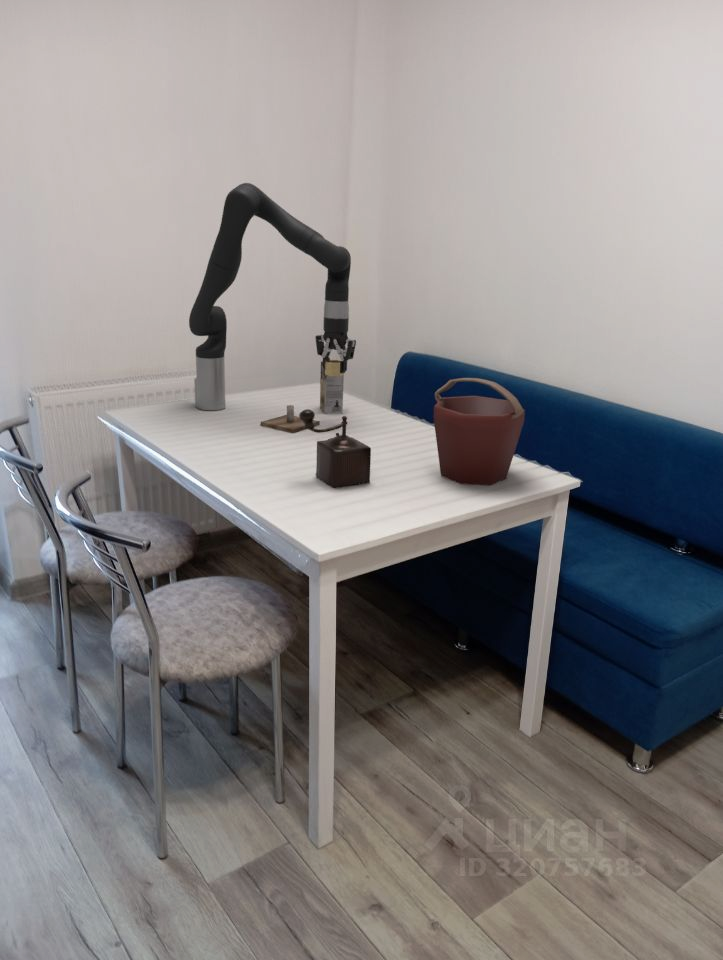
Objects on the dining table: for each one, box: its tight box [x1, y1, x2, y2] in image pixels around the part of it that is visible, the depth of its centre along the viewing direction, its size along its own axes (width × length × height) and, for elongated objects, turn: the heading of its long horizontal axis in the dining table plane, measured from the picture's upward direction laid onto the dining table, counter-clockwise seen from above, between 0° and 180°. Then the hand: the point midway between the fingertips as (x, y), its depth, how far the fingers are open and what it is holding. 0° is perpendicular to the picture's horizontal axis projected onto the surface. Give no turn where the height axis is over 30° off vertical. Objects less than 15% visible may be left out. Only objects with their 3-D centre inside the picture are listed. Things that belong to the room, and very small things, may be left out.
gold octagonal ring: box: [325, 359, 345, 376], centre depth 246 cm, size 6×6×4 cm
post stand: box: [260, 404, 320, 434], centre depth 249 cm, size 13×13×6 cm
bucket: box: [433, 377, 526, 486], centre depth 205 cm, size 24×22×25 cm
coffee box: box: [319, 360, 345, 415], centre depth 267 cm, size 9×6×16 cm
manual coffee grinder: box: [298, 408, 372, 489], centre depth 198 cm, size 16×11×18 cm
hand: (334, 371), depth 246 cm, fingers closed on gold octagonal ring, 5 cm apart
